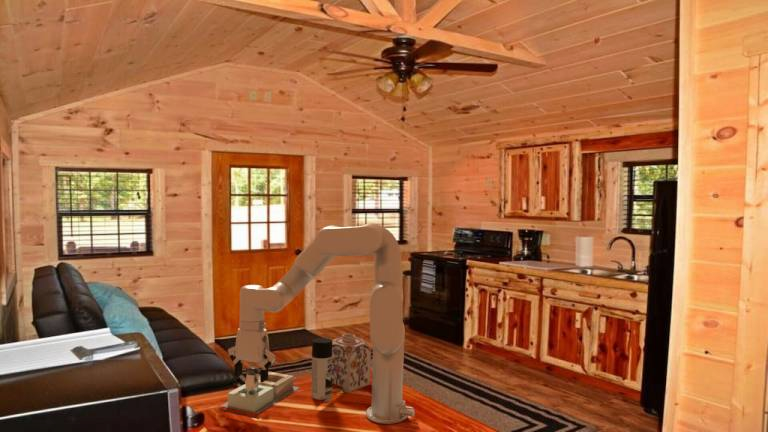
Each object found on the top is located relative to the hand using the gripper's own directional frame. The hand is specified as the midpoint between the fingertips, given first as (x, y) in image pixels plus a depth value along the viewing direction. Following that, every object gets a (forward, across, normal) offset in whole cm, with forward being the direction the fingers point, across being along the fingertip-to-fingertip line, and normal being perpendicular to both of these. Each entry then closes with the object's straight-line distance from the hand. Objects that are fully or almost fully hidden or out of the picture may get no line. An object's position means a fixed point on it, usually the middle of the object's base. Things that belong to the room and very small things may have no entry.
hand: (251, 378), depth 170 cm
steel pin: (+8, 0, 0) cm, 8 cm away
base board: (+9, 0, -6) cm, 11 cm away
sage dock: (+8, 0, 0) cm, 8 cm away
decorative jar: (+10, -19, -31) cm, 38 cm away
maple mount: (+8, 0, -12) cm, 14 cm away
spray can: (+10, -17, -15) cm, 25 cm away
